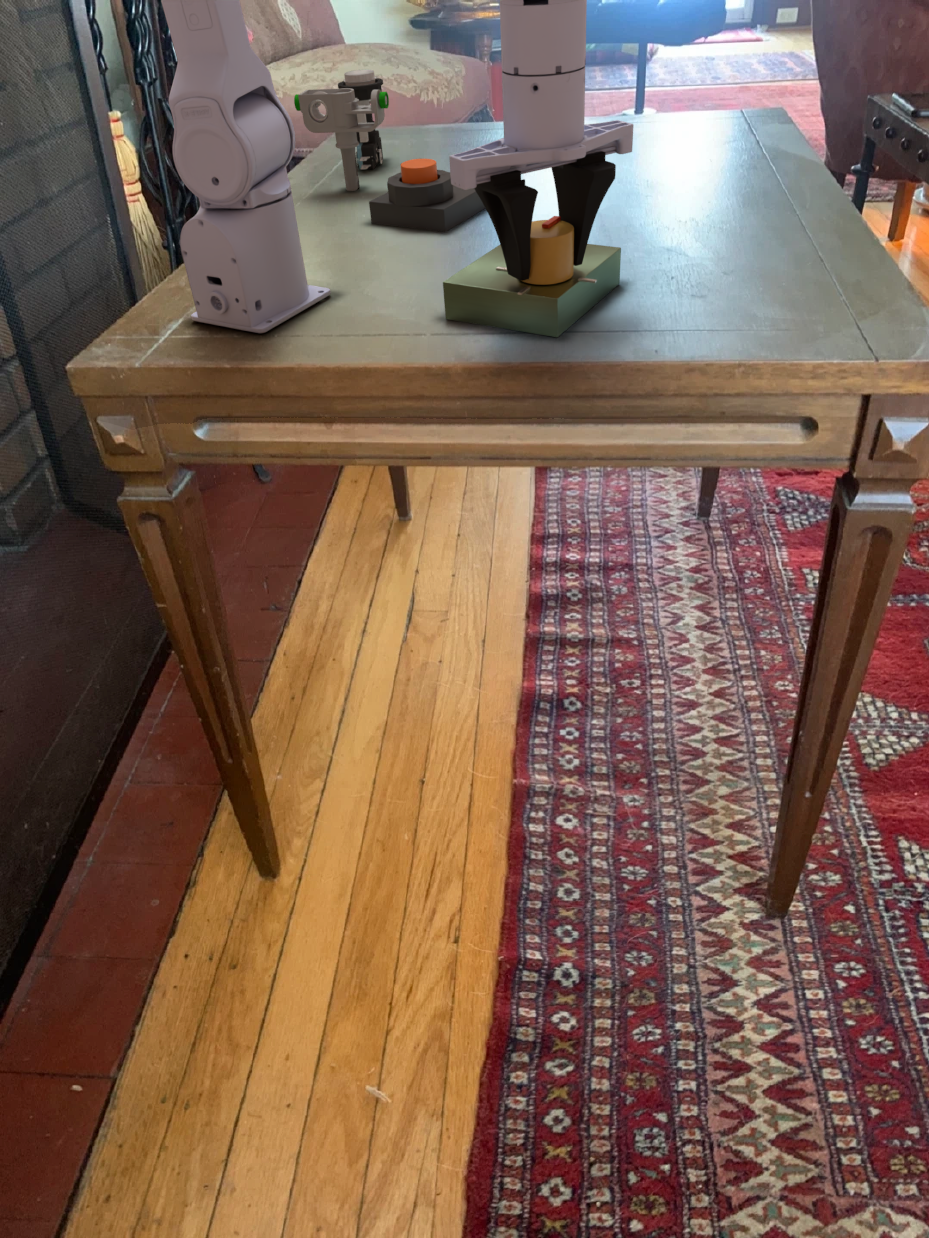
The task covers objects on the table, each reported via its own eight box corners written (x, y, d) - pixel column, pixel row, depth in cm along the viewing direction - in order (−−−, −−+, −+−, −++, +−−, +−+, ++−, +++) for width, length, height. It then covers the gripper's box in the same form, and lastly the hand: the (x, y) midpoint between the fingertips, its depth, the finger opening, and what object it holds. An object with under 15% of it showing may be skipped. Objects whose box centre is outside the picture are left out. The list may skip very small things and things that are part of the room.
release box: (444, 233, 91) (440, 190, 89) (369, 224, 95) (364, 183, 92) (503, 198, 99) (501, 158, 97) (432, 191, 103) (429, 152, 100)
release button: (425, 188, 91) (424, 169, 90) (395, 185, 93) (393, 166, 91) (444, 178, 93) (443, 159, 92) (414, 175, 95) (412, 157, 94)
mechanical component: (392, 193, 104) (381, 92, 97) (306, 193, 106) (290, 95, 99) (399, 185, 106) (389, 86, 99) (314, 186, 108) (299, 89, 101)
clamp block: (571, 341, 69) (571, 300, 67) (443, 320, 74) (440, 281, 72) (634, 285, 77) (636, 247, 75) (514, 269, 82) (513, 233, 80)
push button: (385, 173, 110) (374, 78, 104) (342, 175, 111) (329, 80, 105) (395, 159, 115) (385, 67, 109) (353, 160, 116) (341, 69, 110)
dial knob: (558, 288, 70) (558, 236, 67) (507, 281, 71) (505, 230, 69) (582, 269, 72) (583, 218, 70) (533, 262, 74) (532, 213, 72)
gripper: (481, 93, 58) (491, 306, 66) (664, 59, 63) (651, 261, 71) (429, 79, 63) (444, 279, 71) (603, 48, 68) (597, 239, 76)
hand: (544, 269), depth 72 cm, fingers closed on dial knob, 4 cm apart
